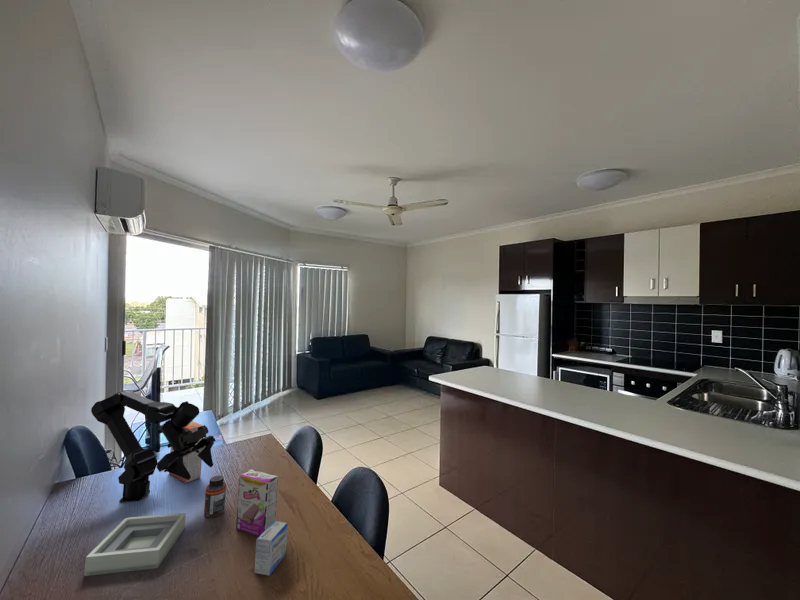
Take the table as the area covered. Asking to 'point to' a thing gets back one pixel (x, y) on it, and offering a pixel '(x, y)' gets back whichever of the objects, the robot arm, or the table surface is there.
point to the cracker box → (191, 458)
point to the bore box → (136, 544)
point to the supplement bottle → (215, 497)
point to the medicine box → (270, 548)
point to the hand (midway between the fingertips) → (201, 472)
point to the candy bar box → (256, 501)
